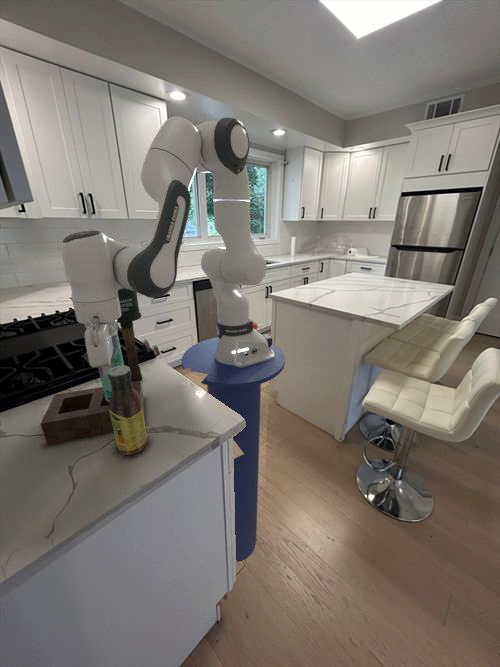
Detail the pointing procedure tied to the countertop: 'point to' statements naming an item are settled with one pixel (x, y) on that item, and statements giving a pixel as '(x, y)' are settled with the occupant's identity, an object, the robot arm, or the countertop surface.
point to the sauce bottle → (126, 412)
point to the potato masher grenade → (130, 328)
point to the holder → (79, 415)
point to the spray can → (115, 361)
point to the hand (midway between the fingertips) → (110, 365)
